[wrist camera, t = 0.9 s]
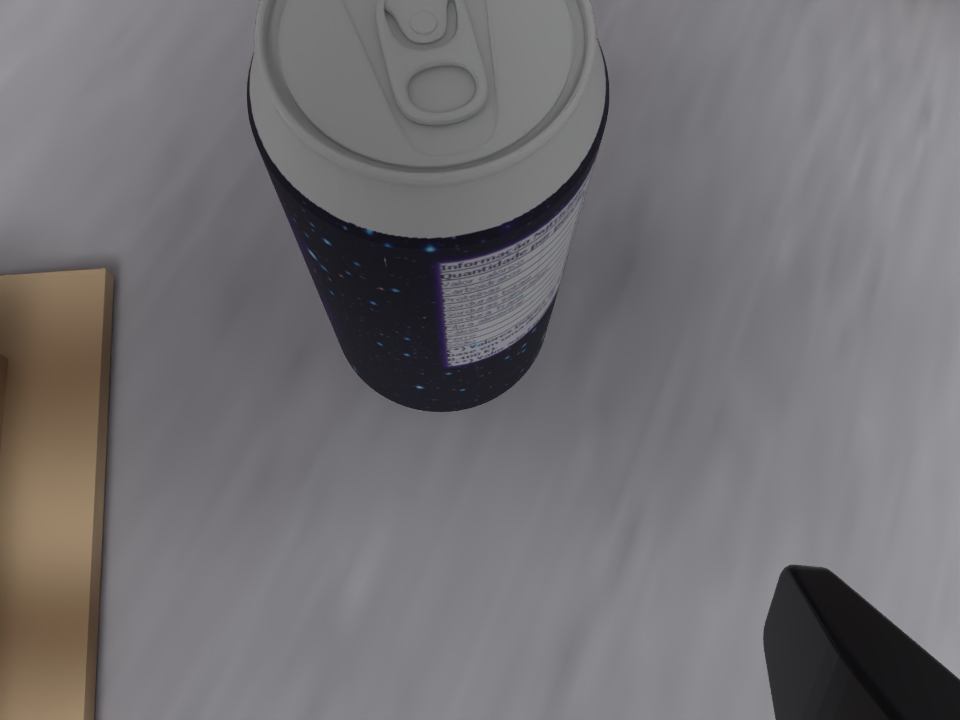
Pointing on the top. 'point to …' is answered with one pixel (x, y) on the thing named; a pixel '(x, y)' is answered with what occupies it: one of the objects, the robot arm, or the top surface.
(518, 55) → the beverage can
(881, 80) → the top surface
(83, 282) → the socket board
